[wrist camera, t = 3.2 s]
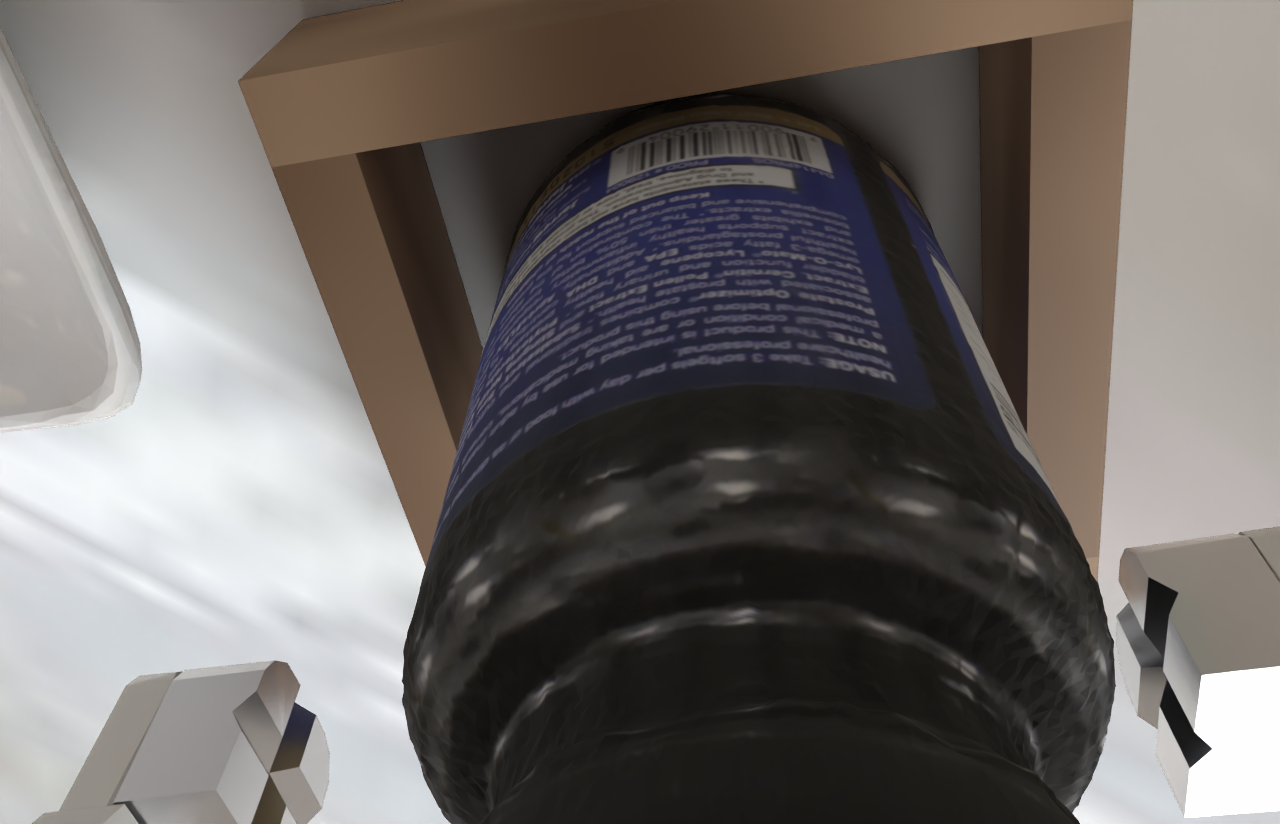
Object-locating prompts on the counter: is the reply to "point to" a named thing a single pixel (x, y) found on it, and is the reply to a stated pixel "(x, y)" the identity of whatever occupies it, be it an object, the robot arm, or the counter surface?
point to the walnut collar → (666, 69)
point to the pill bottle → (747, 511)
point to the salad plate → (54, 283)
